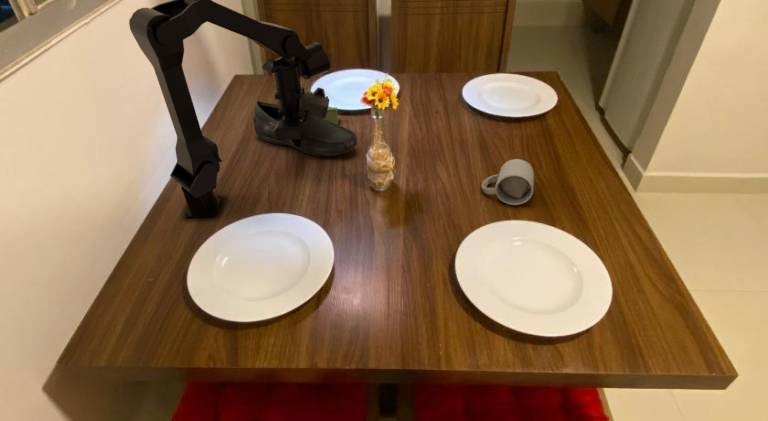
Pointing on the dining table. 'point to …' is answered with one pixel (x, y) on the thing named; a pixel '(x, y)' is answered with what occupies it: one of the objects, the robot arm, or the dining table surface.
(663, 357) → the dining table surface
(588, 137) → the dining table surface
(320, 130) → the loafer
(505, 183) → the ceramic mug
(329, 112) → the rail
